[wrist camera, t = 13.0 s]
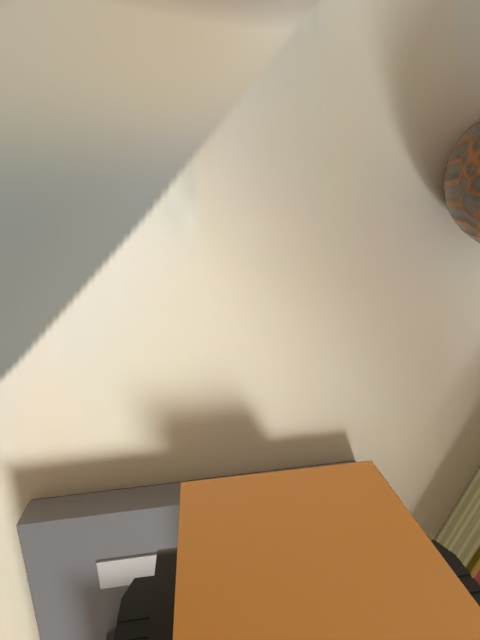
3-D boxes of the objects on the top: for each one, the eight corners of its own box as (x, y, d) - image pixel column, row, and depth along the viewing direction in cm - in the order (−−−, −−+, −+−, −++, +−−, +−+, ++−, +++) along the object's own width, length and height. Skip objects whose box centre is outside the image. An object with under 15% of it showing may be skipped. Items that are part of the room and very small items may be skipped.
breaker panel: (354, 460, 25) (373, 487, 23) (356, 654, 29) (372, 697, 26) (30, 500, 24) (11, 533, 21) (70, 701, 27) (58, 751, 24)
